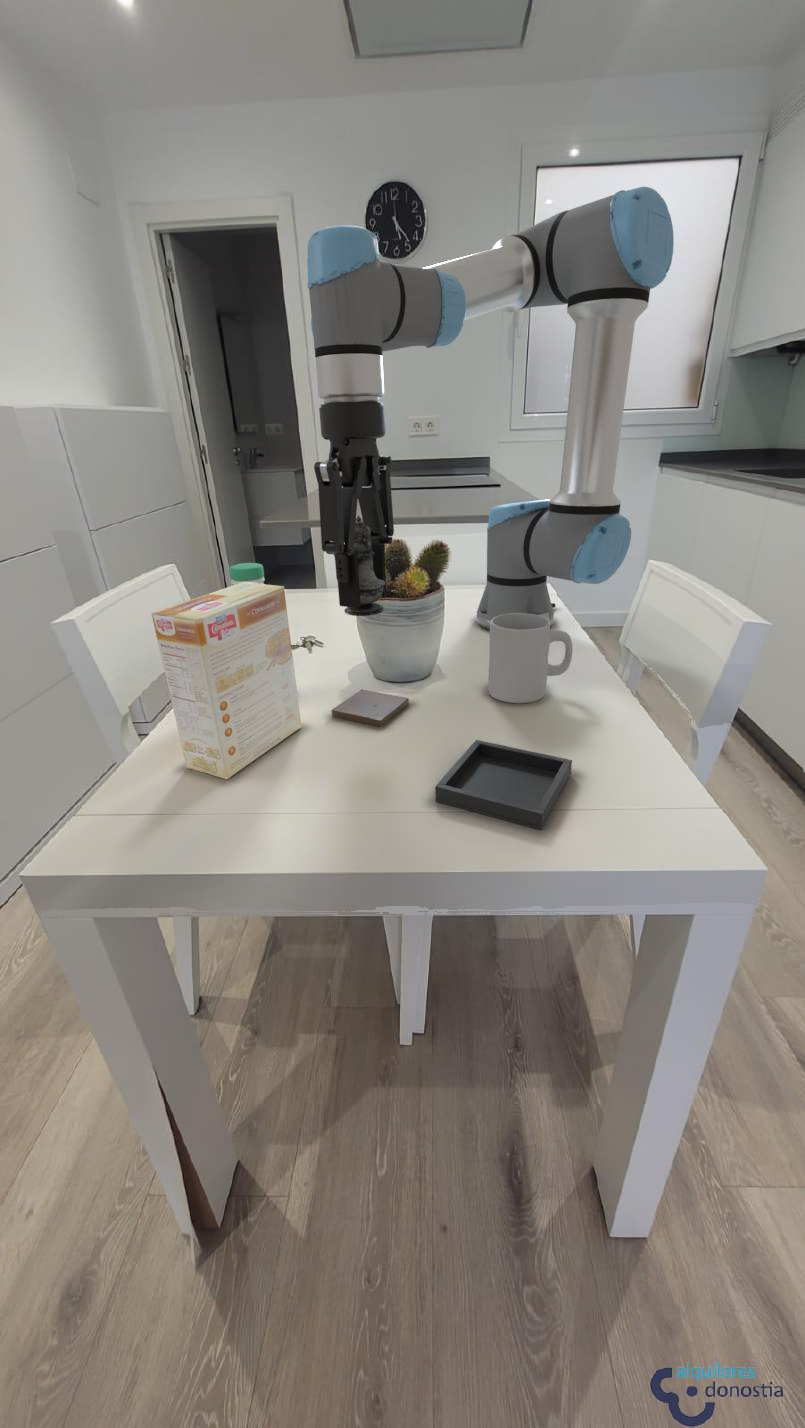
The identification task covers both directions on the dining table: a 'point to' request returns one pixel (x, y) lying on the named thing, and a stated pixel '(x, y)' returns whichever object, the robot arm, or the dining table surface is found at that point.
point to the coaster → (370, 707)
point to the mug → (523, 657)
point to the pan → (505, 783)
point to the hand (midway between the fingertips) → (363, 599)
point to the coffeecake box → (229, 675)
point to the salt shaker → (366, 574)
